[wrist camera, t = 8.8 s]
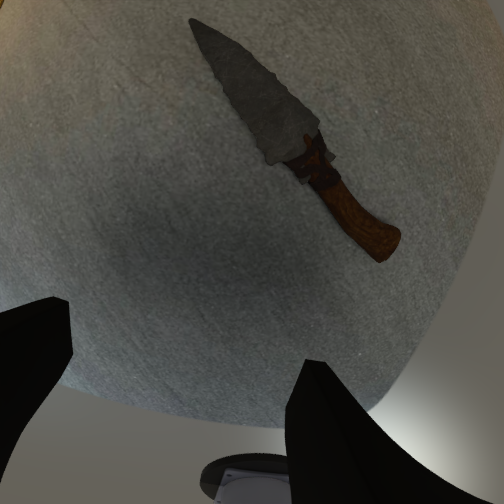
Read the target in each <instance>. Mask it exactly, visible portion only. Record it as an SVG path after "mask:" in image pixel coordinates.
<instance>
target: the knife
mask: <svg viewBox="0 0 504 504" xmlns="http://www.w3.org/2000/svg"><path fill="white" fill-rule="evenodd" d="M189 24H190V27H191V29H192V31H193V34H194V37H195V39H196V41H197V43H198V45H199V48H200V50H201V52H202V54H203V55H204V57H205V58H206V59H207V61H208V62H209V64H210V66H211V68H212V70H213V72H214V76H215V78H217V79H219V80H220V81H221V82H222V85H223V92H224V93H226V94H227V95H228V96H229V97H230V100H231V105H232V106H233V107H234V108H235V109H236V110H237V111H238V112H239V114H240V117H241V118H242V119H243V120H244V121H245V122H246V123H247V124H248V126H249V128H250V130H251V132H252V133H253V134H254V135H255V136H256V137H257V147H258V148H259V149H261V150H262V151H263V152H264V153H265V159H266V162H267V164H268V165H271V166H273V165H274V164H275V163H277V162H279V161H283V163H284V164H285V165H287V166H288V167H289V168H291V169H292V170H293V171H294V173H295V174H296V176H297V177H298V178H299V182H300V183H301V184H302V185H303V184H305V183H306V182H307V181H308V182H309V184H310V185H311V186H312V188H313V189H314V190H315V191H317V192H318V194H319V195H320V196H321V198H322V199H323V201H324V202H325V203H326V205H327V206H328V208H329V210H330V211H331V213H332V214H333V215H334V217H335V218H336V220H337V221H338V222H339V224H340V225H341V227H342V229H343V230H344V231H345V232H346V233H347V234H348V235H349V236H350V237H351V238H352V239H354V240H355V241H356V242H357V243H358V244H359V245H360V246H361V247H362V248H363V249H364V250H365V251H366V252H367V253H368V254H369V255H370V256H371V257H372V258H373V259H374V260H375V261H376V262H378V263H381V262H383V261H384V260H385V261H386V260H387V259H388V258H389V257H390V256H391V255H392V253H393V252H394V251H395V249H396V248H397V246H398V244H399V242H400V239H401V232H400V230H399V229H398V228H396V227H394V226H392V225H389V224H385V223H382V222H381V221H379V220H378V219H376V218H375V217H374V216H372V215H371V214H370V213H368V212H367V211H366V210H365V209H364V208H363V207H362V206H361V205H360V204H359V203H358V202H357V201H356V199H355V198H354V197H353V196H352V194H351V193H350V191H349V190H348V189H347V187H346V186H345V184H344V183H343V181H342V180H341V176H340V174H339V173H338V171H337V170H336V169H334V168H333V167H332V166H331V164H330V163H329V162H331V161H333V160H334V159H335V157H336V156H335V155H334V154H333V153H331V152H329V150H328V149H327V147H326V144H325V143H324V140H323V137H322V135H321V132H320V130H319V129H318V125H319V123H320V120H319V119H318V118H317V117H316V116H314V115H313V113H312V112H311V110H309V109H308V108H306V107H305V106H304V105H303V104H302V103H301V102H300V101H299V100H298V98H296V97H294V96H293V95H291V94H290V93H289V92H288V89H287V87H286V86H284V85H283V84H281V83H280V82H279V81H278V80H277V78H276V74H275V73H272V72H270V71H268V70H267V69H266V68H265V67H264V66H262V65H261V64H260V63H259V62H258V61H257V60H256V59H255V58H254V57H253V55H252V54H251V52H249V51H247V50H246V49H244V48H243V47H242V46H241V45H240V44H239V43H237V42H235V41H233V40H231V39H230V38H228V37H226V36H225V35H223V34H222V33H220V32H219V31H217V30H215V29H213V28H211V27H209V26H207V25H205V24H203V23H201V22H200V21H198V20H196V19H193V18H190V19H189Z"/></svg>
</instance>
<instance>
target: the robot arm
mask: <svg viewBox="0 0 504 504" xmlns="http://www.w3.org/2000/svg"><path fill="white" fill-rule="evenodd" d="M72 356H73V347H72V337H71V326H70V313H69V302H68V301H66V300H63V299H60V298H57V297H54V296H53V297H48V298H44V299H41V300H37V301H34V302H31V303H28V304H25V305H22V306H19V307H16V308H13V309H10V310H7V311H4V312H1V313H0V482H1V479H2V476H3V473H4V471H5V468H6V466H7V463H8V461H9V458H10V456H11V454H12V451H13V450H14V447H15V445H16V443H17V441H18V439H19V437H20V435H21V433H22V432H23V430H24V428H25V427H26V425H27V424H28V422H29V421H30V419H31V418H32V417H33V415H34V414H35V412H36V411H37V409H38V408H39V407H40V405H41V404H42V403H43V401H44V400H45V398H46V397H47V396H48V394H49V393H50V392H51V390H52V389H53V388H54V386H55V385H56V383H57V382H58V381H59V379H60V378H61V376H62V374H63V372H64V371H65V369H66V367H67V365H68V363H69V361H70V359H71V358H72ZM285 445H286V454H287V464H288V473H289V474H277V473H267V472H257V471H249V470H242V469H235V468H227V469H225V471H224V474H223V477H222V480H221V483H220V486H219V488H218V491H217V494H216V497H215V499H214V503H213V504H493V503H490V502H487V501H485V500H482V499H480V498H477V497H475V496H473V495H471V494H469V493H467V492H465V491H463V490H461V489H459V488H457V487H455V486H454V485H452V484H450V483H449V482H447V481H445V480H444V479H442V478H441V477H439V476H438V475H436V474H435V473H433V472H432V471H430V470H429V469H427V468H426V467H425V466H423V465H422V464H421V463H419V462H418V461H417V460H415V459H414V458H413V457H412V456H411V455H409V454H408V453H407V452H406V451H405V450H403V449H402V448H401V447H400V446H399V445H398V444H397V443H396V442H395V441H393V440H392V439H391V438H390V437H389V436H388V435H387V434H386V433H385V432H384V431H383V430H382V428H381V427H380V426H379V425H378V424H377V423H376V422H375V421H374V420H373V419H372V418H371V417H370V416H369V415H368V413H367V412H366V411H365V410H364V409H363V408H362V406H361V405H360V404H359V403H358V402H357V400H356V399H355V398H354V397H353V396H352V394H351V393H350V392H349V391H348V389H347V388H346V387H345V386H344V384H343V383H342V382H341V381H340V379H339V378H338V377H337V376H336V374H335V373H334V372H333V371H332V369H331V368H330V367H329V366H328V365H327V363H326V362H321V361H314V360H308V359H305V361H304V364H303V367H302V369H301V372H300V374H299V376H298V379H297V381H296V384H295V386H294V389H293V391H292V393H291V396H290V398H289V401H288V403H287V405H286V409H285Z"/></svg>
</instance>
